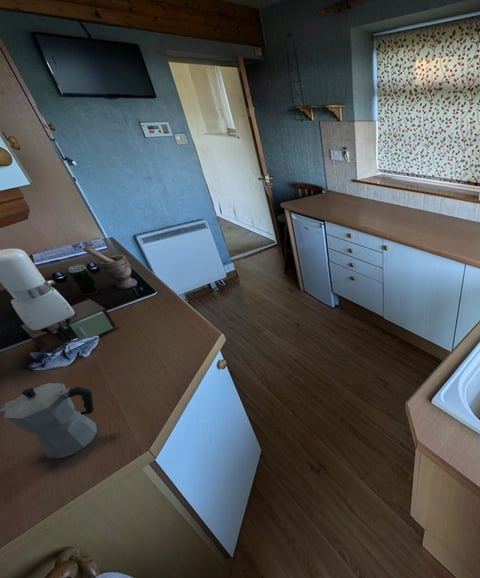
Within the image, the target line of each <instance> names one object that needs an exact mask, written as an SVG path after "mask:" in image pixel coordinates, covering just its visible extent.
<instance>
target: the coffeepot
mask: <svg viewBox="0 0 480 578" xmlns="http://www.w3.org/2000/svg"><path fill="white" fill-rule="evenodd" d="M76 396H81V400H82V402H83V407H84V409H85V410H83V411H79V410H78V411H77V410H75V404H74V402H73V401H72V398H73V397H76ZM94 411H95V409H94V399H93V392H92V390H90V389H89V388H85V387H81V386H76V387H68V388H66V386H65V383H58V382H46V383H44V384H42V385H39V386H36V387H34V388H33V387H29V388H26V389H24V390H22V392H21V394H20V395H18V396H17V397H16V398H15V399H13V400H10V401H8V402H5V403H3V404H2V405H0V413H2V414H4V415H3V418H4V419H5V420H7V421H9V422H10V423H12V424H14V425H15V426H17V427H19V428H21V429H23V430H25V431H26V432H28V433H30V434H36V437H37V440H38V442H39V444H40V446H41V448H42V450H43V452H44V454H45V455H46V457H47V458H48V459H56V460H57V459H64V458H68V457H70V456H73V455H75V454H76V453H78V452H79V451H81V450H83V449H84V448H85V447H87V446H88V445H89V444H90V443H91V442H92V441H93V440H94V439H95V437H96V435H98V427H97V422H95V421H93V420H92V419H90V418H89V417H87V415H89V414H93V412H94Z"/></svg>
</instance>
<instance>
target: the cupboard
mask: <svg viewBox="0 0 480 578" xmlns="http://www.w3.org/2000/svg"><path fill="white" fill-rule="evenodd" d="M70 306H71V308H72V309H73V311H74V312H75V313H76V314H77V315H78V316H77V317H76V318H74V319H73V320H71V321H70V323H69V324H68V328H67V329H68V330H69V332H70V333H71V336H70V338H71V340H73V339H75V338H78V337H77V336H76V335H75V333H74V332H73V330H72V329H71V328H70V326H69V325H70V324H72V323H75V322H77V321H80V320H82V319H84V318H87V317H89V316H91V315H94V314H96V313H99V312H101V311H102V312H104V314H105V316H106V317H107V319H108V321H109V322H110V324H111V326H112V327H113V328H112V329H110V330H108V331H106V332H104V333H102V334H100V335H98V336H99V337H100V338H101V337H103V336H106V335H108V334H110V333H112V332H115V331H117V330H118V329H120V328H119V326H117V325H116V324H115V322H114V321H113V319H112V317H111V315H110V314H109V313H108V311H107V309H106V308H105V307H104V306H102V305H100V304H99V303H97V302H96V301H94V300H92V299H91V298H88V299H87V300H83V301H81V302H78V303H76V304H73V305H70ZM52 326H53V327H54V328H57V329H59V324H58V323H55V324H53V325H52ZM20 328H22V330H23V331H24V333H25V334H26V335H27V336H28V337H29V338H30V340H31V341H32V342H33V343H34V344H35V346H36V347H38V348H39V349H40V350H41V351H42V350H43V351H44V352H46V353H50V352H53V351H54V350H56V349H57V348H59V347H61V346H63V345H64V344H65V343H67V342H70V341H71V340H68V339H67V340H68V341H66V342H64V341H63V340H59V339H58V338H57V337H56V336H55V334H54V333H49V332H41V333H37V334H31V333H30V331H29V327H27V326H26V325H25V324H24V323H23V324H21V325H20ZM43 351H42V352H43ZM44 352H43V353H44Z"/></svg>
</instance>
